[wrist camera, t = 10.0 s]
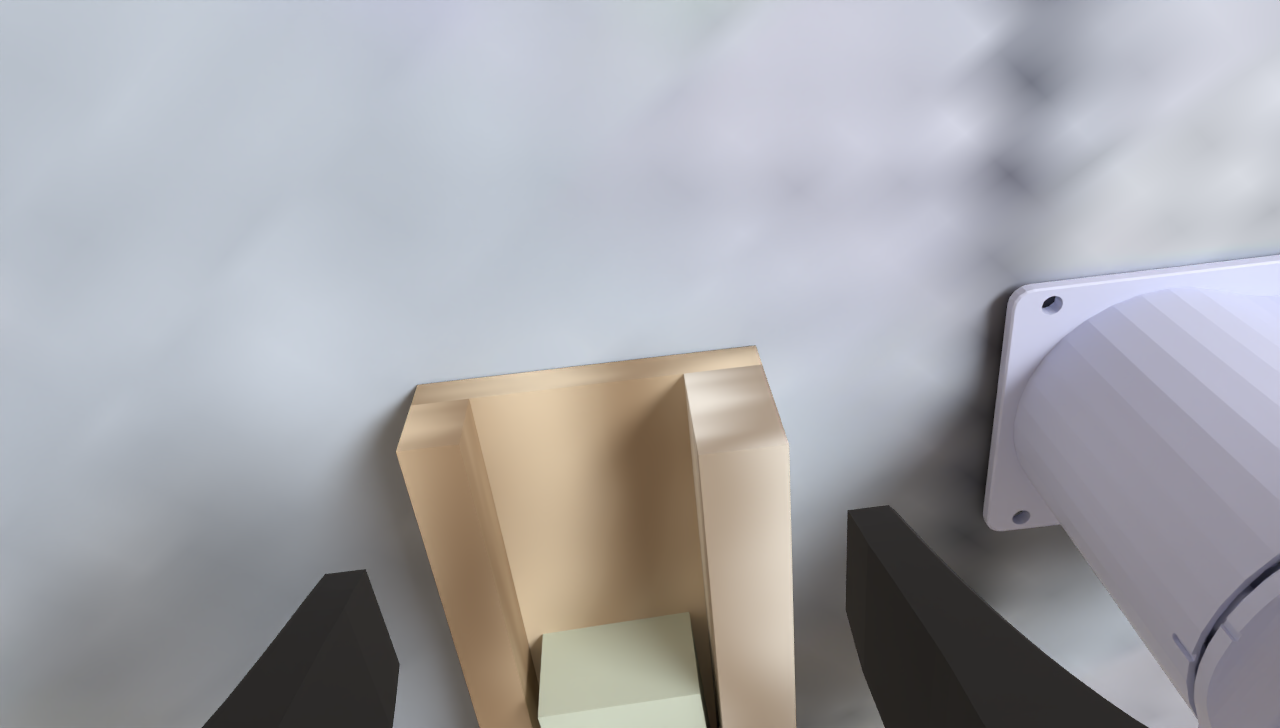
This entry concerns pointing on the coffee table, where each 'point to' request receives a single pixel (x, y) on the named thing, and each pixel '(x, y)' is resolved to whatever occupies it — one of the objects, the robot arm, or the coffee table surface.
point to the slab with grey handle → (623, 676)
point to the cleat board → (610, 521)
